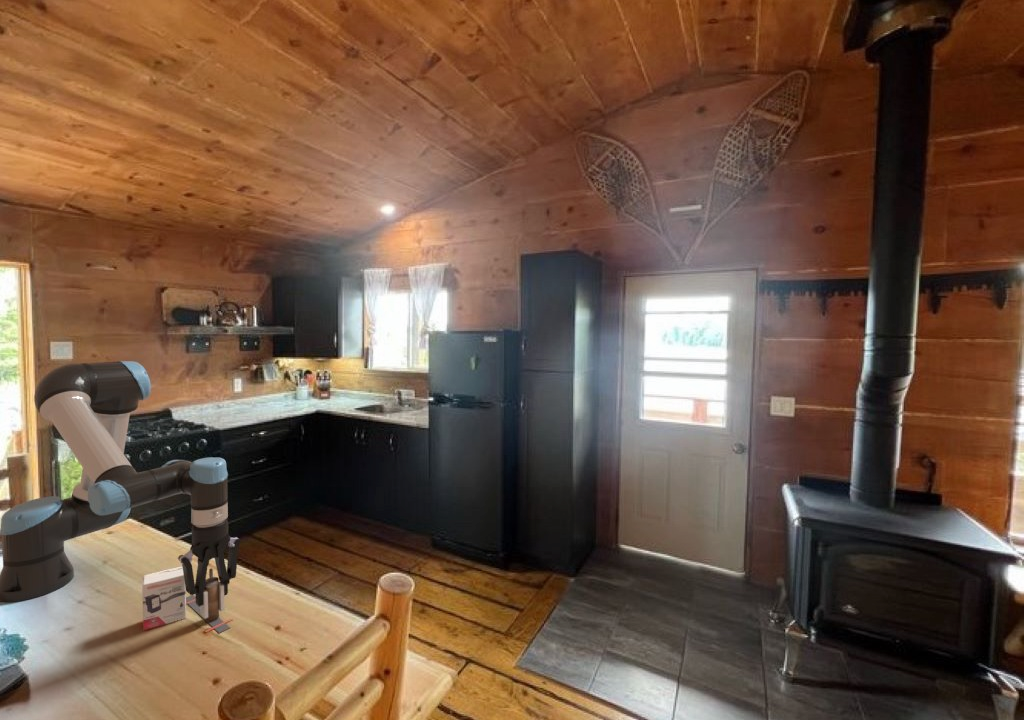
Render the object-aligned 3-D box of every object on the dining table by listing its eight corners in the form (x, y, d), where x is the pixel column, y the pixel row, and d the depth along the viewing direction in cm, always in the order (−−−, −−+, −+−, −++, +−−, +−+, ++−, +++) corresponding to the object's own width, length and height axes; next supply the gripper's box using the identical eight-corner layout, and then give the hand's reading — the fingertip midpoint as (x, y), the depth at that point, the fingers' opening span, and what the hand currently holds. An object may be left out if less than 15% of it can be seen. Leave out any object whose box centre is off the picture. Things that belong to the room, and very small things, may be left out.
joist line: (174, 602, 120) (174, 602, 120) (200, 592, 125) (200, 591, 125) (210, 637, 108) (210, 636, 108) (237, 624, 112) (237, 623, 112)
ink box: (142, 631, 109) (141, 584, 108) (143, 620, 113) (142, 575, 112) (186, 618, 114) (185, 573, 113) (186, 608, 118) (184, 565, 117)
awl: (202, 619, 114) (201, 569, 113) (216, 613, 116) (215, 563, 115) (207, 624, 112) (206, 573, 111) (221, 617, 114) (220, 568, 113)
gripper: (178, 537, 103) (181, 635, 105) (251, 514, 116) (253, 602, 118) (165, 528, 108) (168, 622, 109) (237, 507, 121) (239, 592, 122)
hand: (212, 612), depth 114 cm, fingers closed on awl, 3 cm apart
